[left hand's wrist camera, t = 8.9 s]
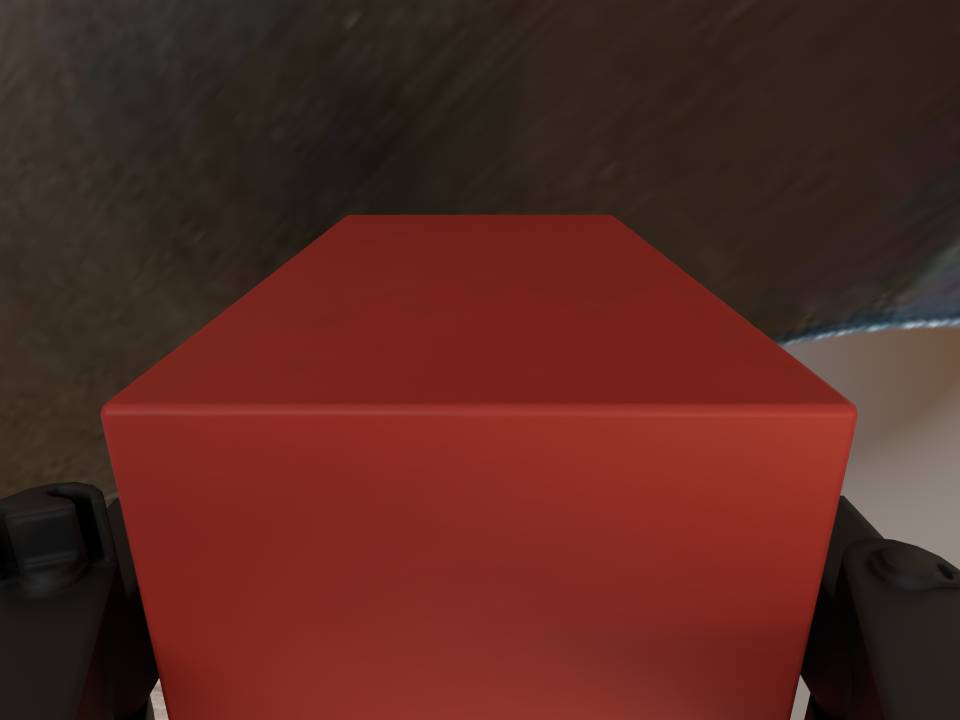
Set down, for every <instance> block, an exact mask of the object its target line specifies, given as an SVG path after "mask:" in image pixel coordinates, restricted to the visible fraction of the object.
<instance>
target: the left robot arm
mask: <svg viewBox="0 0 960 720" xmlns="http://www.w3.org/2000/svg"><path fill="white" fill-rule="evenodd" d="M800 675H801V677H802V678H803V680H804V682H805V684H806V685H807V687H808V689H809V691H810V692H811V693H810V697H809V702H808V706H807V710H806V714H805V719H804V720H960V570H959V569H958V568H956V567H954V566H953V565H952V564H950V563H949V562H947V561H946V560H944V559H943V558H942V557H940V556H938V555H936V554H933V553H931V552H929V551H927V550H924V549H922V548H920V547H918V546H915V545H911V544H907V543H903V542H900V541H896V540H890V539H884V538H883V537H882V536H881V535H880V534H879V533H878V532H877V530H876V529H875V528H874V527H873V526H872V525H871V524H870V523H869V522H868V521H867V520H866V519H865V518H864V517H863V516H862V515H861V514H860V513H859V511H858V510H857V509H856V508H855V507H854V506H853V505H852V504H851V503H850V502H849V501H848V500H847V499H846V498H845V497H844V496H840V498H839V502H838V507H837V511H836V516H835V520H834V525H833V529H832V534H831V538H830V542H829V547H828V551H827V556H826V560H825V565H824V569H823V574H822V578H821V583H820V587H819V592H818V596H817V601H816V605H815V610H814V614H813V619H812V623H811V628H810V632H809V637H808V641H807V646H806V650H805V655H804V659H803V664H802V668H801V672H800ZM158 679H159V674H158V669H157V665H156V660H155V656H154V652H153V647H152V643H151V638H150V634H149V629H148V625H147V620H146V616H145V611H144V607H143V602H142V598H141V594H140V589H139V585H138V580H137V576H136V571H135V567H134V562H133V558H132V553H131V549H130V544H129V540H128V536H127V531H126V527H125V522H124V518H123V513H122V509H121V504H120V500H119V498H116V499H115V500H114V501H113V502H112V503H111V505H110V506H109V507H108V508H107V509H106V505H105V500H104V496H103V492H102V491H101V490H99V489H98V488H96V487H95V486H93V485H90V484H84V483H78V482H69V483H54V484H49V485H44V486H40V487H35V488H31V489H27V490H24V491H22V492H19V493H16V494H14V495H11V496H9V497H6V498H3V499H2V500H0V720H155V718H154V711H153V706H152V702H151V697H150V693H151V692H152V690H153V688H154V686H155V685H156V683H157V681H158Z"/></svg>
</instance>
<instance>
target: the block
mask: <svg viewBox="0 0 960 720" xmlns="http://www.w3.org/2000/svg"><path fill="white" fill-rule="evenodd" d="M857 417H858V414H857V409H856V406H855V405H854V404H853V403H852V402H850V401H849V400H848V399H847V398H845V397H844V396H843V395H841V394H840V393H839V392H838V391H836V390H835V389H834V388H832V387H831V386H830V385H829V384H827V383H826V382H825V381H823V380H822V379H821V378H820V377H818V376H817V375H816V374H815V373H813V372H812V371H811V370H809V369H808V368H807V367H806V366H804V365H803V364H802V363H800V362H799V361H798V360H797V359H795V358H794V357H793V356H792V355H790V354H789V353H788V352H786V351H785V350H784V349H783V348H781V347H780V346H779V345H777V344H776V343H775V342H774V341H772V340H771V339H770V338H768V337H767V336H766V335H765V334H763V333H762V332H761V331H760V330H758V329H757V328H756V327H754V326H753V325H752V324H751V323H749V322H748V321H747V320H745V319H744V318H743V317H742V316H740V315H739V314H738V313H736V312H735V311H734V310H733V309H731V308H730V307H729V306H728V305H726V304H725V303H724V302H722V301H721V300H720V299H719V298H717V297H716V296H715V295H713V294H712V293H711V292H710V291H708V290H707V289H706V288H704V287H703V286H702V285H701V284H699V283H698V282H697V281H696V280H694V279H693V278H692V277H690V276H689V275H688V274H687V273H685V272H684V271H683V270H681V269H680V268H679V267H678V266H676V265H675V264H674V263H673V262H671V261H670V260H669V259H667V258H666V257H665V256H664V255H662V254H661V253H660V252H658V251H657V250H656V249H655V248H653V247H652V246H651V245H649V244H648V243H647V242H646V241H644V240H643V239H642V238H641V237H639V236H638V235H637V234H635V233H634V232H633V231H632V230H630V229H629V228H628V227H626V226H625V225H624V224H623V223H621V222H620V221H619V220H617V219H616V218H615V217H614V216H612V215H348V216H346V217H344V218H343V219H342V220H341V221H339V222H338V223H337V224H335V225H334V226H333V227H332V228H330V229H329V230H328V231H326V232H325V233H324V234H323V235H321V236H320V237H319V238H317V239H316V240H315V241H314V242H312V243H311V244H310V245H309V246H307V247H306V248H305V249H303V250H302V251H301V252H300V253H298V254H297V255H296V256H294V257H293V258H292V259H291V260H289V261H288V262H287V263H285V264H284V265H283V266H282V267H280V268H279V269H278V270H276V271H275V272H274V273H273V274H271V275H270V276H269V277H267V278H266V279H265V280H264V281H262V282H261V283H260V284H258V285H257V286H256V287H255V288H253V289H252V290H251V291H249V292H248V293H247V294H246V295H244V296H243V297H242V298H240V299H239V300H238V301H237V302H235V303H234V304H233V305H231V306H230V307H229V308H228V309H226V310H225V311H224V312H222V313H221V314H220V315H219V316H217V317H216V318H215V319H213V320H212V321H211V322H210V323H208V324H207V325H206V326H204V327H203V328H202V329H201V330H199V331H198V332H197V333H195V334H194V335H193V336H192V337H190V338H189V339H188V340H186V341H185V342H184V343H183V344H181V345H180V346H179V347H178V348H176V349H175V350H174V351H172V352H171V353H170V354H169V355H167V356H166V357H165V358H163V359H162V360H161V361H160V362H158V363H157V364H156V365H154V366H153V367H152V368H151V369H149V370H148V371H147V372H145V373H144V374H143V375H142V376H140V377H139V378H138V379H136V380H135V381H134V382H133V383H131V384H130V385H129V386H127V387H126V388H125V389H124V390H122V391H121V392H120V393H118V394H117V395H116V396H115V397H113V398H112V399H111V400H109V401H108V402H107V403H106V404H104V405H103V407H102V410H101V420H102V424H103V428H104V433H105V437H106V442H107V446H108V451H109V455H110V460H111V464H112V469H113V473H114V478H115V482H116V486H117V491H118V495H119V500H120V504H121V509H122V513H123V518H124V522H125V527H126V531H127V536H128V540H129V544H130V549H131V553H132V558H133V562H134V567H135V571H136V576H137V580H138V585H139V589H140V594H141V598H142V602H143V607H144V611H145V616H146V620H147V625H148V629H149V634H150V638H151V643H152V647H153V652H154V656H155V660H156V665H157V669H158V674H159V678H160V683H161V687H162V692H163V696H164V701H165V705H166V710H167V714H168V718H169V720H790V717H791V713H792V708H793V703H794V699H795V695H796V690H797V686H798V681H799V677H800V672H801V668H802V664H803V659H804V655H805V650H806V646H807V641H808V637H809V632H810V628H811V623H812V619H813V614H814V610H815V605H816V601H817V596H818V592H819V587H820V583H821V578H822V574H823V569H824V565H825V560H826V556H827V551H828V547H829V542H830V538H831V534H832V529H833V525H834V520H835V516H836V511H837V507H838V502H839V498H840V493H841V489H842V484H843V480H844V475H845V471H846V466H847V462H848V457H849V453H850V448H851V444H852V439H853V435H854V430H855V426H856V421H857Z"/></svg>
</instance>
